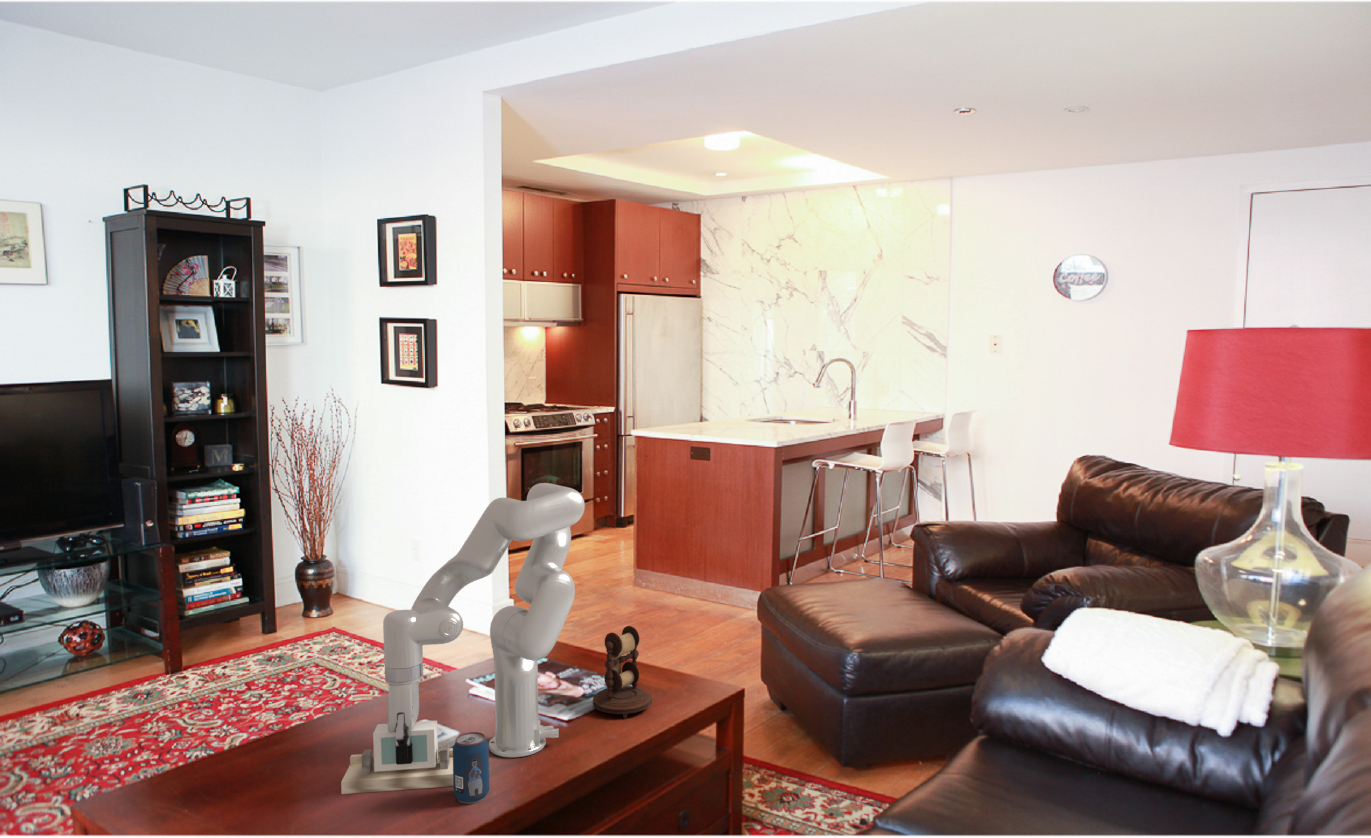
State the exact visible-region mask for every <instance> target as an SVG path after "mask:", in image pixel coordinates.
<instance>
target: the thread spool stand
mask: <svg viewBox="0 0 1371 838" xmlns="http://www.w3.org/2000/svg"><path fill="white" fill-rule="evenodd" d="M639 644H640V634H639V632H638V630H637V629H636V628H635V627H634V626H632V625H627V626H625V627H624V628H623V629H622V631H621V635H618V634H617V633H615V632H608V633H607V634H606V636H605V638H604V647H605V649H606V651H605V652H606V661H605V662H604V666H605V667H604V668H605V672H604V683H605V686H606V688H605V689H602V690H600V691H598V692H597V693H596V694H595V695H594V696H593V697H592V706H593V709H594V710H595V711H596V710H598V711H599V712H602V713H605V714H606V713H607V714H612V715H613V714H614V715H622V717H623V719H624V720H625V719H627V717H628V714H634V713H638V712H642V711H644V710H647V709H648V708H649V707H650V706H651V705H652V703H653V696H652V694H651V693H650V692H649V691H647V690H645V689H644V688H641V687H638V685H639V683H638V682H639V679H640V670H639V668H638V662H637V660H638V657H639V655H640V653H639V650H637V649H638V646H639ZM627 660H632V661H627ZM622 664H623V665H622Z"/></svg>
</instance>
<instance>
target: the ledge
mask: <svg viewBox="0 0 1371 838" xmlns="http://www.w3.org/2000/svg"><path fill="white" fill-rule="evenodd" d="M340 783H341V784H340V788H341V789H340V790H341V792H340V794H341V795H348V794H362V793H375V792H390V791H403V790H404V791H405V790H415V789H417V790H418V789H429V788H430V789H431V788H442V787H446V788H447V787H453V747H451V748H450V743H444V744H443V743H442V744H441V746H440V748H438V759H437V763H436V766H435V767H432V768H418V769H405V770H391V771H377V772H374V752H373V748H370V749H369V748H367V749H364V750H363V752H362V753H360V754H359V753H358V754H351V755H350V757H349V766H348V768H347V769H346V772H345V774H344V776H343V777H342V780H341V781H340Z"/></svg>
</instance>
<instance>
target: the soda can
mask: <svg viewBox="0 0 1371 838" xmlns="http://www.w3.org/2000/svg"><path fill="white" fill-rule="evenodd" d="M452 748H453V786H452V787H453V796H455V798H456V799H457V801H458V802H459V803H462V804H465V805H466V804H467V805H468V804H475V803H479V802H481V801H483V800H484V799H485V798H486V797H487V795H488V793H489V791H490V763H489V762H490V755H489V753H490V750H489V742H488V740H487V739H486V735H485V734H484V733H482V732H476V731H471V732H465V733H464V732H463V733H462V734H460V735H457V737H456V738H455V742H454V744H453V746H452Z"/></svg>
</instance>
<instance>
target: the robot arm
mask: <svg viewBox="0 0 1371 838" xmlns="http://www.w3.org/2000/svg"><path fill="white" fill-rule="evenodd" d="M585 505H586V504H585V499H584V498H583V496H582V495H581V493H580V492H579V491H578V490H576V489H574V488H572V487H568V486H563V485H558V484H554V483H550V482H549V483H548V482H542V483H541V482H540V483H536V484H534V485H533V486H532V487H531V488H530V489H529V491H528V493H527V496H526V500H521V499H520V500H518V499H515V498H511V497H497V498H496V499H495V498H494V499H493V500H492V501H491V502H490V503H489V504H488V506H487V507H486V508H485V510H484V511H483V513H482V515H481V516H480V517H479V519H478V520H477V521H476V524H475V526H474V527H473V529H472V530H471V531H470V533H469V535H468V537H467V538H466V539H465V541H464V542H463V544H462V546H461V548H460V549H459V551H458V552H457V553H456V554H455V555H453V557H452V558H450V559H449V560H448V561H447V562H446V563H444V564H443V565H442V566H441V567H440V568H439V569H437V570H436V571H435V572H434V574H432V575H431V577H430V578H429V579H428V581H427V582H426V583H425V585H424V586H423V587H422V589H421V591H420V592H419V594H418V595H417V597H416V598H415V600H414V602H413V605H412V606H411V608H410V609H398V610H394V611H391V612H389V613H387V614H386V615H385V616H384V618H383V621H382V622H383V624H382V625H383V626H382V628H383V662H384V682H385V683H386V684H388V696H387V724H388V732H389V733H391V732H393V731H394V729H395V727H396V764H397V765H399V764H411V763H412V762H413V753H412V744H411V730H412V729H413V728H414V725H415V723H416V722H417V720H418V717H419V712H420V694H419V693H420V689H419V681H421V680H422V679H423V678H424V658H423V657H424V655H423V653H424V652H423V646H428V645H429V646H430V645H445V644H447V643H451V642H454V641H455V640H456V639H457V638H458V637H460V635H461V633H462V632H463V629H464V621H463V617H462V616H461V614H460V613H459V612H458V611H457V610H455V609H454V608H452V607H450V606H449V605H450V604H451V603H452V601H453V600H454V598H455V597H456V595H457V594H458V593H460V591H461V590H462V589H464V587H467V586H468V585H469V584H471V583H473V582H476V581H477V580H478V581H479V580H481V579H484V578H486V577H488V576H490V575H491V574H493V572H494V571H495V569H496V567H497V566H498V564H499V563H500V561H501V559H502V557H503V556H504V554H505V552H506V551H507V550H508V548H509V546H510V545H511V544H512V541H516V542H526V541H530V540H532V543H531V545H530V548H529V550H528V551H527V555H526V557H525V559H524V560H523V564H522V566H521V568H520V570H519V572H518V574H517V577H516V580H515V583H514V591H515V594H516V596H517V597H518V598H519V599H521V600H522V601H524V602H525V603H526V604H529V605H530V606H529V608H528V609H526V608H525V607H521V606H518V605H508V606H505V607H502V608H501V609H499V610H498V611H497V612H496V613H495V614H494V615H493V617H492V619H491V621H490V628H489V636H490V637H489V638H490V644H491V649H492V655H493V656H492V657H493V662H494V663H493V665H494V667H493V668H494V702H495V703H494V709H495V712H494V713H495V735H494V736H493V737H491V738H490V740H489V742H488V749H489V752H491V753H492V754H493V755H496V756H498V757H503V758H520V757H521V758H522V757H527V756H530V755H533V754H536V753H538V752H540V751H541V750H543V748H544V747H545V746H546V744H547V741H546V740H547V739H549V738H551V739H554V738H556V739H557V738H559V737H560V736H559V735H560V734H559V733H560V732H559V730H560V729H559V727H558V728H554V725H547V726H546V725H545V726H544V725H543V724H542V725H541V719H539V679H538V678H539V674H538V673H539V669H538V666H539V665H538V661H541V660H542V659H544V658H545V657H547V656H548V655H549V654H550V653H551V652H552V650H553V649H554V648H555V647H554V646H555V645H556V644H557V641H558V639H559V637H560V634H561V633H562V630H563V627H564V625H565V623H566V620H567V618H568V615H569V613H570V612H571V608H572V606H573V605H574V604H573V603H574V600H575V595H576V587H575V586H576V585H575V582H574V579H573V578H572V576H571V575H570V574H569V573H568V572H567V571H566V570H564V569H563V567H564V564H565V562H566V559H567V557H568V554H569V551H570V547H571V543H572V531H571V526H573V525H575V524H576V523H578V521H580V520H581V518H582V517H583V515H584V512H585V508H586V506H585ZM404 727H408V729H404ZM404 733H407V737H406V736H404ZM546 738H547V739H546Z"/></svg>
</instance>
